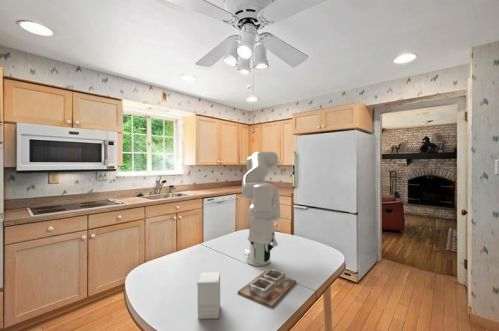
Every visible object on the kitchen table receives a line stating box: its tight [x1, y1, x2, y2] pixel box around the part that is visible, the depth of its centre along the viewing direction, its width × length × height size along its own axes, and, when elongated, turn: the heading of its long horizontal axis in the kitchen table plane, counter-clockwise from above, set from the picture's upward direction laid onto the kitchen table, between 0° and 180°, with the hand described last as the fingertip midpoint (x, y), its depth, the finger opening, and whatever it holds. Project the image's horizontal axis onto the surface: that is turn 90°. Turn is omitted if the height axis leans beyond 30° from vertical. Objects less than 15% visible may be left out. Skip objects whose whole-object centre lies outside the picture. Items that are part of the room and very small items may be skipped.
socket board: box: [237, 268, 297, 309], centre depth 96 cm, size 16×22×4 cm
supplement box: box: [197, 271, 221, 320], centre depth 80 cm, size 7×7×13 cm
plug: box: [255, 243, 269, 265], centre depth 92 cm, size 4×4×8 cm
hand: (262, 258), depth 92 cm, fingers closed on plug, 4 cm apart
